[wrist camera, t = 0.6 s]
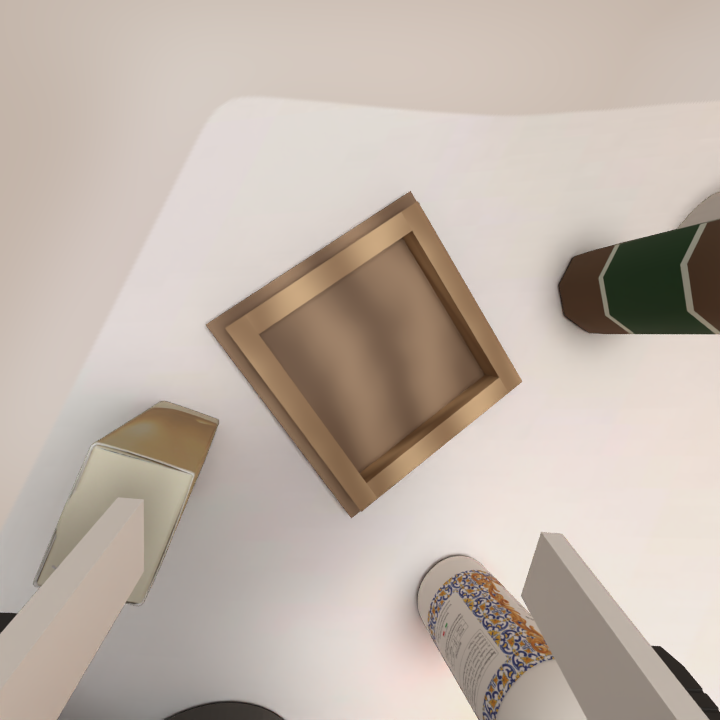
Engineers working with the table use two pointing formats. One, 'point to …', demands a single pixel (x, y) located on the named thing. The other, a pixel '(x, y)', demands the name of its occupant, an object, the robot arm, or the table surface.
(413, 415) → the wooden tray
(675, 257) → the beer bottle
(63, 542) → the skincare box
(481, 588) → the bath foam
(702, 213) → the lumpy-topped squat cylinder
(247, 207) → the table surface
